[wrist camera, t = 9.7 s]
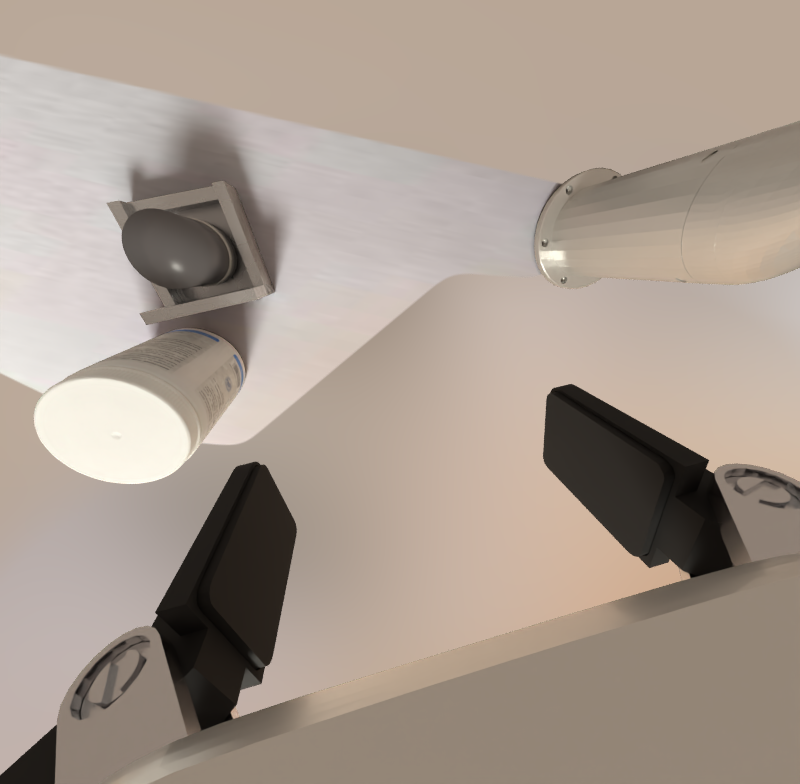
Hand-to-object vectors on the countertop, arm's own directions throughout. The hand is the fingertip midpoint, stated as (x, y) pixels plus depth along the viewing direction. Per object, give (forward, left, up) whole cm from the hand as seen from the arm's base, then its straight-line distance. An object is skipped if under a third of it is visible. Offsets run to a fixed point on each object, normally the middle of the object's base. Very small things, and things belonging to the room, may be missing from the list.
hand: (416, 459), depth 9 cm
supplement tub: (+20, +2, -28) cm, 34 cm away
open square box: (+14, -9, -28) cm, 32 cm away
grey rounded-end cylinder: (+14, -9, -27) cm, 32 cm away
